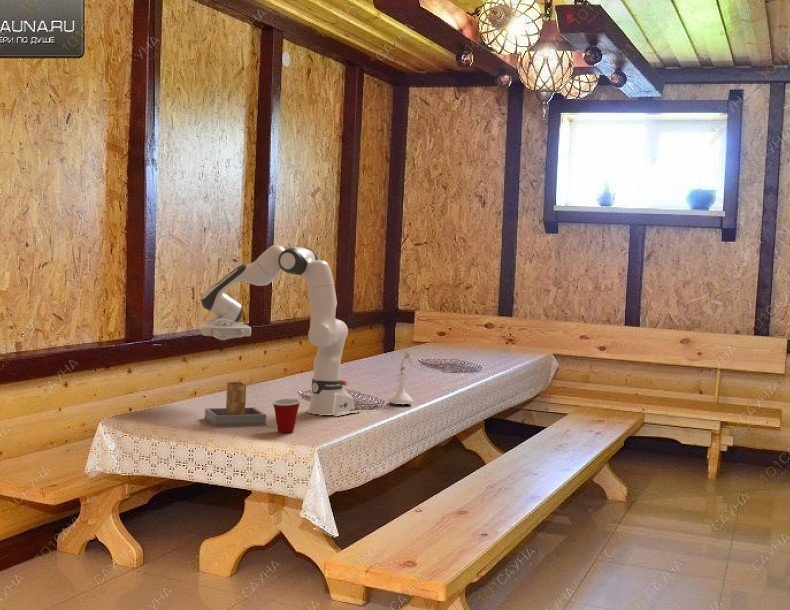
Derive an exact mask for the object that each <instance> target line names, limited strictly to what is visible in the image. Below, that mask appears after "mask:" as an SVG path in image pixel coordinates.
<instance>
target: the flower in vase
mask: <svg viewBox="0 0 790 610" xmlns="http://www.w3.org/2000/svg"><path fill="white" fill-rule="evenodd" d="M403 353H404V358H403V360H402V362H401V364H400V369H399V371H400V372H397V373H396V376H397V379H398V389H397V391H395V392H394V393H393V394H391V395H390V396H389V397H388V398H387V402H388V401H389V402H393V403H411V402H413V403H414V400H413V398H412V397H411V396H410V395H409V394H408V393H407V392H406V391H405V387H404V385H405V380H406V377H407V376H408V373H406V372H405V373H404V372H403V371H404V370H406V367H405V366H403V363H404V361H405V360H407V361H408V363H409V364H411V365H412V364H413V360H412V358H411V357H410V354H409V353H408V350H407V349H406V348H405V347H404V348H403ZM389 402H388V403H389Z"/></svg>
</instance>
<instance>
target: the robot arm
mask: <svg viewBox="0 0 790 610" xmlns="http://www.w3.org/2000/svg"><path fill="white" fill-rule="evenodd" d="M281 272H284V273H287V274H289V275H290V274H291V275H297V276H301V275H302V276H304V278H305V280H306V284H307V292H308V298H309V303H310V304H309V306H310V321H309V322H310V323H309V325H310V326H309V330H308V332H307V333H308V334H307V336H308V337H307V338H308V340H309V342H310V343H311V344H312V345H313V346H315V347H318V348H317V351H316V355H315V356H314V359H313V372H312V373H313V374H312V378H311V396H310V400H309V401H310V402H309V405H308V409H307V413H308V412H310V413H316V414H334V415H340V414H338V413H341V414H344V413H345V411H349V410H351V409H354V408H355V400H354V398H353V396H352V395H351V394H350V393H348V392H347V391H346V390H345V389H344V388H343V387H344V386H347V383H348V381H347V380H341V365H342V364H341V362H342V357H343V352H344V348H345V342H346V339H347V337H348V334H349V328H348V326H347V324H346V323H345V322H344V321H343V320H340V319H337V318H336V310H337V306H338V301H337V294H336V288H335V287H336V286H335V282H334V281H335V280H334V277H333V273H332V270H331V267H330V265H329V263H328V262H326V260H323V259H319V258H318V255H317V253H316V252H315V251H314V250H313V249H311V248H309V247H300V246H295V247H288V248H285V247H284V246H282V245H280V244H273V245H271V246H269V247H268V248H267V249H266V250H265V251H263V252H262V253H261V254H260V255H259V256H258V257H257V258H256V260H254V261H253V262H251V263H248V264H241V265H239V266H238V267H235V268H234V269H233V270H232V271H231V272H229V273H228V274H226V276H223V278H221V279H220V280H219V281H218V282H216V283H215V284H214V285H212V286H210V287H209V288H208V289H206V290H205V291H204V292H203V293H202V296H200V303H201V306H202V308H204V309H205V310H207V311H209V312H210V313H212V314H214V316H210V317H208V318H207V320H206V322H205V325H202V326H201V328H198V331H199V332H201V335H202V336H205V337H214V338H216V339H217V340H219V341H226V340H230V339H236V338H243V337H251V336H252V327H251V326H249V325H247V324H245V323H244V322H243V321H241V319H242V317H243V313H244V312H243V305H242V304H241V303H239V302H238V301H237V300H235V299H234V298H232V297H230V296H229V295H227V294H226V293H225V292H226V291H227V290H228V289H229V288H231V287H232V286H233V285H234V284H236V283H247V284H250V285H253V286H258V287H259V286H260V287H261V286H262V287H264V286H268V285H269V284H270V283H272V282H273V281H274V280H275V279H276V278H277V277H278V276H279V275H280V274H281ZM310 413H309V414H310ZM346 413H348V412H346Z"/></svg>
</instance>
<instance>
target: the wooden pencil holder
mask: <svg viewBox="0 0 790 610" xmlns="http://www.w3.org/2000/svg"><path fill="white" fill-rule="evenodd" d="M246 394H247V385H246V383H244V382H242V381H228V382H226V403H225V404H226V407H225V408H226V415H245V407H246V402H247V401H246V397H247V395H246Z"/></svg>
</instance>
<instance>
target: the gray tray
mask: <svg viewBox="0 0 790 610" xmlns="http://www.w3.org/2000/svg"><path fill="white" fill-rule="evenodd" d="M204 419H205V420H206V421H207V420H208V421H209V422H208V421H207V422H208V423H210V424H211V425H212V426H213V425H214V426H213V427H215V428H217V426H220V427H244V426H245V427H246V426H247V427H251V426H250V425H252V426H266V424H267V414H266V413H264V412H262V411H261V410H260V409H258V408H257V407H255V406H253V407H252V406H251V407H249V406H247V407H246V406H245V415H226V407H217V408H216V407H211V408H209V407H207V408H204Z"/></svg>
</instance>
